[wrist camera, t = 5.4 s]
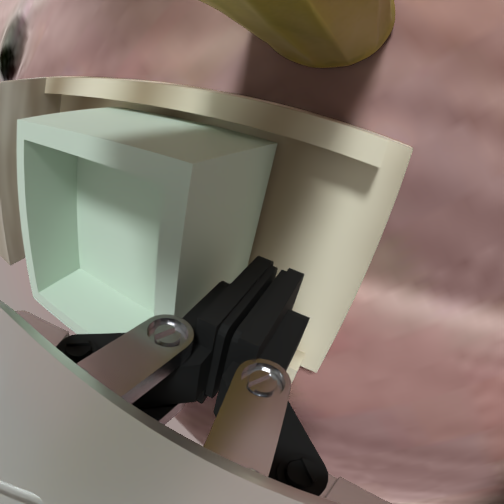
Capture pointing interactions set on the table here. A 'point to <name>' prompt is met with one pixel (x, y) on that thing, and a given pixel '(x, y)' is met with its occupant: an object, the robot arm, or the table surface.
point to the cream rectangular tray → (277, 193)
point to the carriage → (134, 212)
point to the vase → (315, 27)
